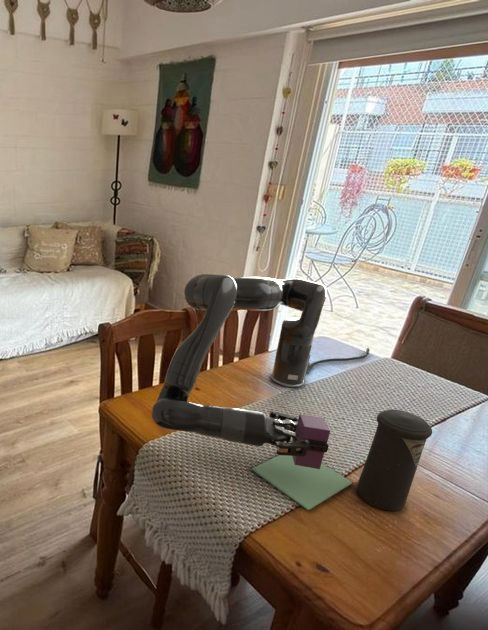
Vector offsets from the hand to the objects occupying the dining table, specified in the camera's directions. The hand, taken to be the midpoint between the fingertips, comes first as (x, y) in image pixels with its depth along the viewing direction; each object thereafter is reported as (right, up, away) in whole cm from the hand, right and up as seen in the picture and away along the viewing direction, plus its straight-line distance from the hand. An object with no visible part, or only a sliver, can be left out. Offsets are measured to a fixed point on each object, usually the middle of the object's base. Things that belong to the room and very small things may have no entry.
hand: (323, 439), depth 95 cm
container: (+11, -12, -1) cm, 17 cm away
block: (-3, -5, +3) cm, 7 cm away
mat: (-3, -10, +4) cm, 11 cm away
